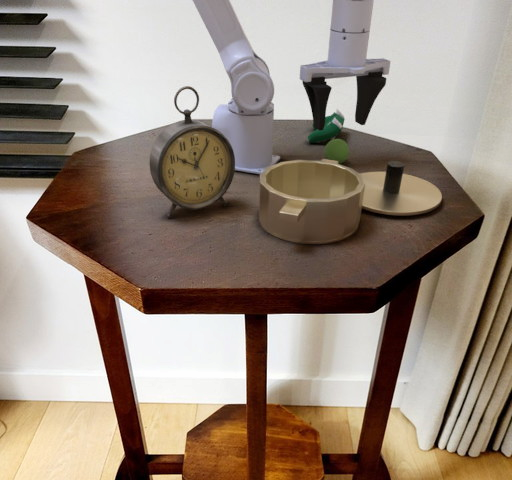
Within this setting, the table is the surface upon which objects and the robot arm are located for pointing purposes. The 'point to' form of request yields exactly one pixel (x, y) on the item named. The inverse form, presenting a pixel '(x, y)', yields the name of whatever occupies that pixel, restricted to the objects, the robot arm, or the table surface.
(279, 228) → the pot
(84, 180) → the table surface
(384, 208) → the lid
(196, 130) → the alarm clock
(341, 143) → the ball
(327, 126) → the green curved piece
